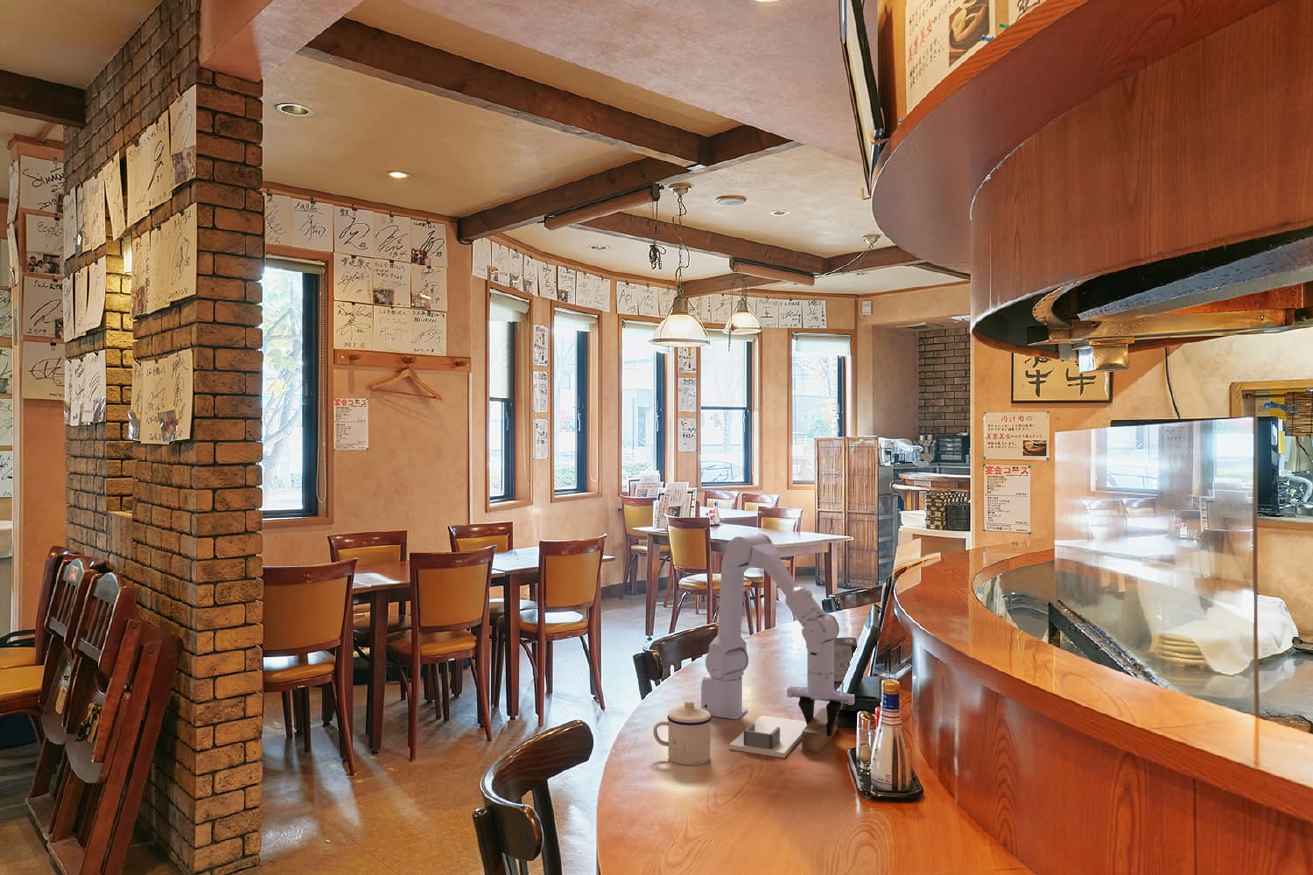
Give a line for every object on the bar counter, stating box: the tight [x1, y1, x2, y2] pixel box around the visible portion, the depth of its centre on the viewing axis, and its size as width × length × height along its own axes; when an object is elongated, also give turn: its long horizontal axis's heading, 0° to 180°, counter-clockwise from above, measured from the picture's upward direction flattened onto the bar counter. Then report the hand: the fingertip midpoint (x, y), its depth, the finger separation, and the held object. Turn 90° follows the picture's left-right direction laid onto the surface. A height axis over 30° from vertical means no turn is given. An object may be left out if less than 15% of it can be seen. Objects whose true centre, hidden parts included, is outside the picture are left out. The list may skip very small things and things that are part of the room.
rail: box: [801, 707, 838, 756], centre depth 193 cm, size 4×18×4 cm, turn 156°
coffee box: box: [834, 637, 858, 691], centre depth 218 cm, size 9×6×16 cm
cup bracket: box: [728, 715, 807, 759], centre depth 194 cm, size 12×22×4 cm, turn 155°
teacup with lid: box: [652, 700, 713, 766], centre depth 181 cm, size 12×9×12 cm
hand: (820, 733), depth 193 cm, fingers closed on rail, 4 cm apart
